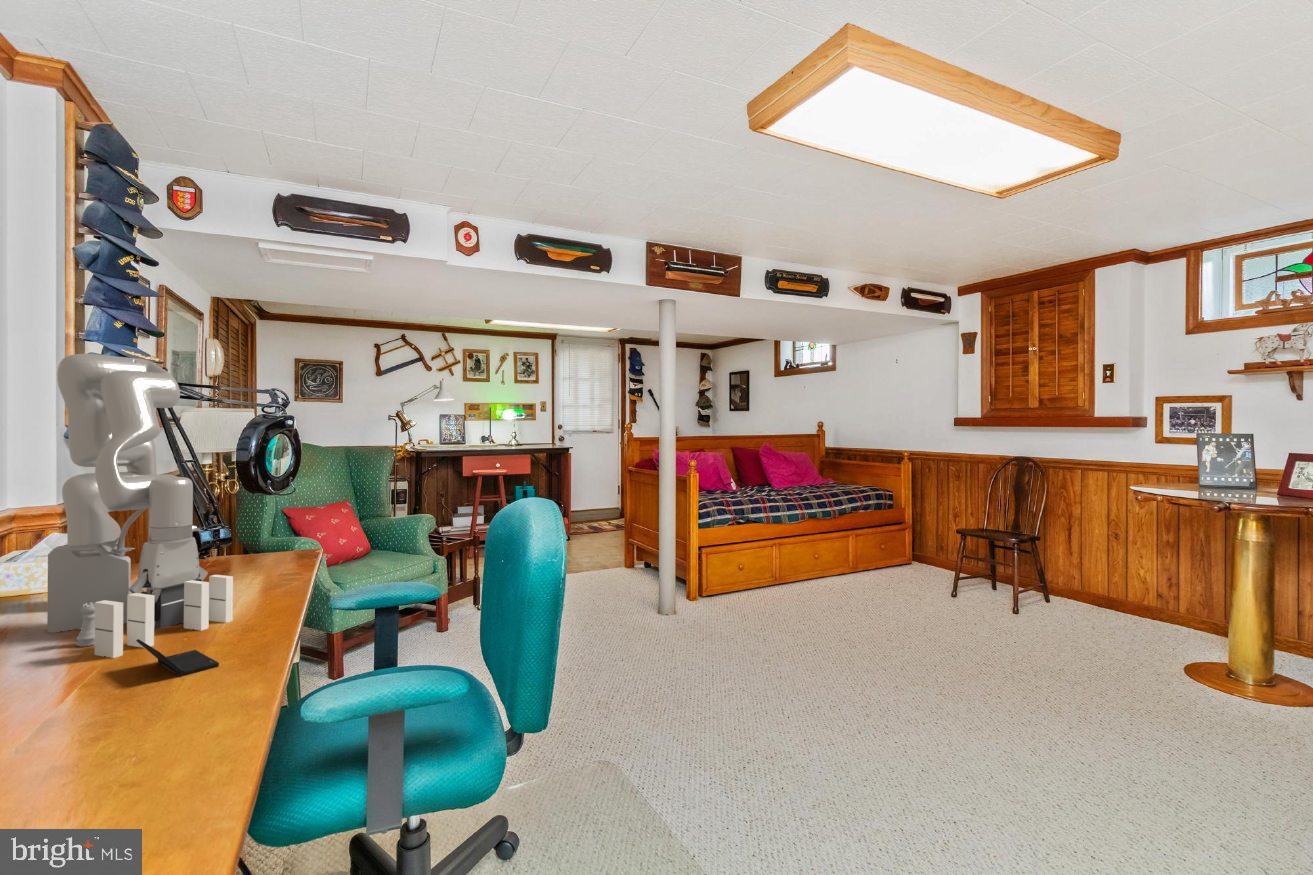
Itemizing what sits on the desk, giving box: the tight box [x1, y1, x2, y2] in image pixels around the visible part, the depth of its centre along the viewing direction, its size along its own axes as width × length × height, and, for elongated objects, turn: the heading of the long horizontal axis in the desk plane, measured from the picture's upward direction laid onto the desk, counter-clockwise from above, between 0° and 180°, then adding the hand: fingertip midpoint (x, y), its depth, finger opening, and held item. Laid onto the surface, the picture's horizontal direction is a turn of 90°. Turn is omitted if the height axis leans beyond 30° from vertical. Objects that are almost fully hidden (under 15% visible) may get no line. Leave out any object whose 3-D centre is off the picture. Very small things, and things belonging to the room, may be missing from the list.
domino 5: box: [208, 574, 234, 624], centre depth 136 cm, size 2×5×10 cm, turn 74°
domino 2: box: [126, 593, 155, 649], centre depth 121 cm, size 2×5×10 cm, turn 74°
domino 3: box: [154, 584, 184, 630], centre depth 133 cm, size 2×5×10 cm, turn 164°
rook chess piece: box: [75, 602, 95, 648], centre depth 121 cm, size 4×4×8 cm
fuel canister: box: [46, 509, 146, 634], centre depth 133 cm, size 15×5×25 cm, turn 127°
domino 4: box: [183, 580, 210, 632], centre depth 131 cm, size 2×5×10 cm, turn 74°
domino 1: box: [94, 600, 124, 659], centre depth 115 cm, size 2×5×10 cm, turn 74°
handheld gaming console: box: [136, 639, 220, 678], centre depth 110 cm, size 12×7×10 cm
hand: (170, 614), depth 133 cm, fingers open, 6 cm apart
